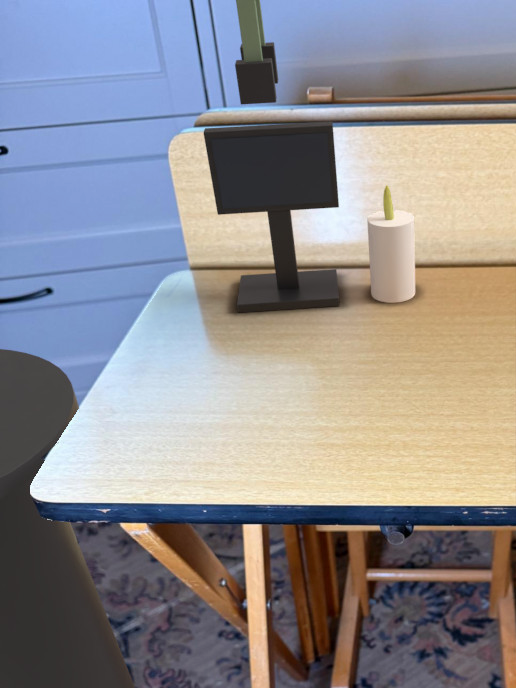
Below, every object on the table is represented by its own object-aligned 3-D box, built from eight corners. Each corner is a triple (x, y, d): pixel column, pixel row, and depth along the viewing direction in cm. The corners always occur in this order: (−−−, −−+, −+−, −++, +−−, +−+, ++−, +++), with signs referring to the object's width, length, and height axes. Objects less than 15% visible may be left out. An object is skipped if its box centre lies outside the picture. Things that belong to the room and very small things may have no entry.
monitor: (230, 313, 110) (200, 141, 95) (235, 283, 117) (207, 119, 103) (346, 305, 110) (333, 134, 96) (343, 276, 118) (331, 113, 103)
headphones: (240, 104, 90) (223, -13, 83) (246, 81, 99) (231, -27, 92) (276, 102, 90) (262, -15, 83) (278, 79, 99) (265, -28, 92)
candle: (421, 285, 115) (420, 176, 105) (407, 304, 110) (405, 192, 100) (380, 281, 116) (375, 173, 106) (364, 299, 112) (358, 189, 102)
